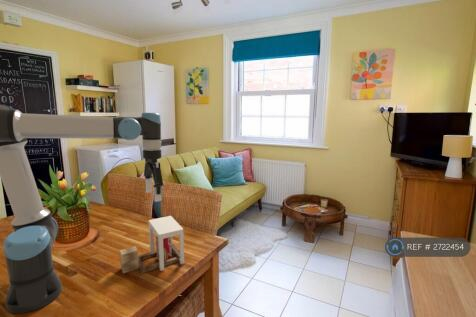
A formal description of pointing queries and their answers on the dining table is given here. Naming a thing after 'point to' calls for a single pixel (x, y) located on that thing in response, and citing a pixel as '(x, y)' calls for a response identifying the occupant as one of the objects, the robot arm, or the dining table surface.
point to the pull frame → (133, 261)
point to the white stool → (166, 236)
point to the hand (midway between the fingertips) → (153, 196)
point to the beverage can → (165, 248)
